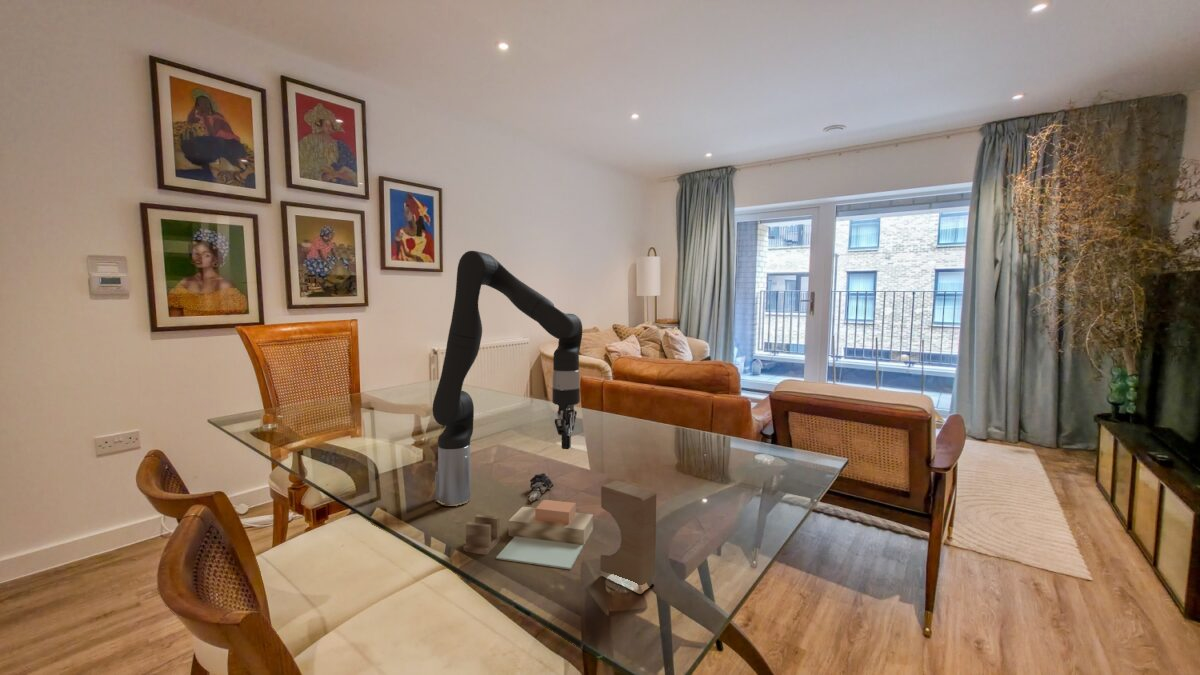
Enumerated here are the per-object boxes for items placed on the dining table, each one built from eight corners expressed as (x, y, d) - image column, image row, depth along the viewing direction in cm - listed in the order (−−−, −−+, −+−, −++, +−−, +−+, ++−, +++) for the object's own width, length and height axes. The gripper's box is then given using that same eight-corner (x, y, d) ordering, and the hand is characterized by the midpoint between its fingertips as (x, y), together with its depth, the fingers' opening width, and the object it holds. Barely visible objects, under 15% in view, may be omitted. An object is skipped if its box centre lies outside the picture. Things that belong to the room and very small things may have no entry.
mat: (496, 558, 107) (496, 557, 107) (515, 537, 117) (515, 536, 117) (570, 569, 103) (570, 567, 103) (583, 546, 113) (583, 545, 113)
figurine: (545, 503, 138) (558, 481, 153) (535, 483, 138) (549, 463, 153) (526, 511, 140) (541, 488, 155) (516, 492, 140) (532, 471, 154)
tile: (535, 520, 119) (535, 508, 118) (543, 510, 124) (543, 499, 124) (568, 524, 117) (568, 512, 116) (575, 514, 122) (575, 503, 122)
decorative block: (599, 576, 101) (599, 485, 100) (615, 565, 105) (616, 479, 104) (640, 597, 93) (641, 499, 92) (656, 585, 98) (657, 491, 97)
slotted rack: (463, 551, 110) (463, 526, 110) (479, 536, 118) (479, 512, 118) (486, 554, 109) (486, 529, 109) (501, 539, 117) (501, 514, 116)
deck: (508, 535, 118) (508, 520, 118) (522, 520, 127) (522, 506, 127) (583, 545, 114) (583, 529, 114) (592, 529, 122) (593, 514, 122)
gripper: (560, 382, 134) (560, 441, 135) (544, 389, 122) (544, 454, 122) (585, 383, 133) (585, 443, 134) (572, 390, 120) (572, 456, 121)
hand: (566, 448), depth 128 cm, fingers closed
